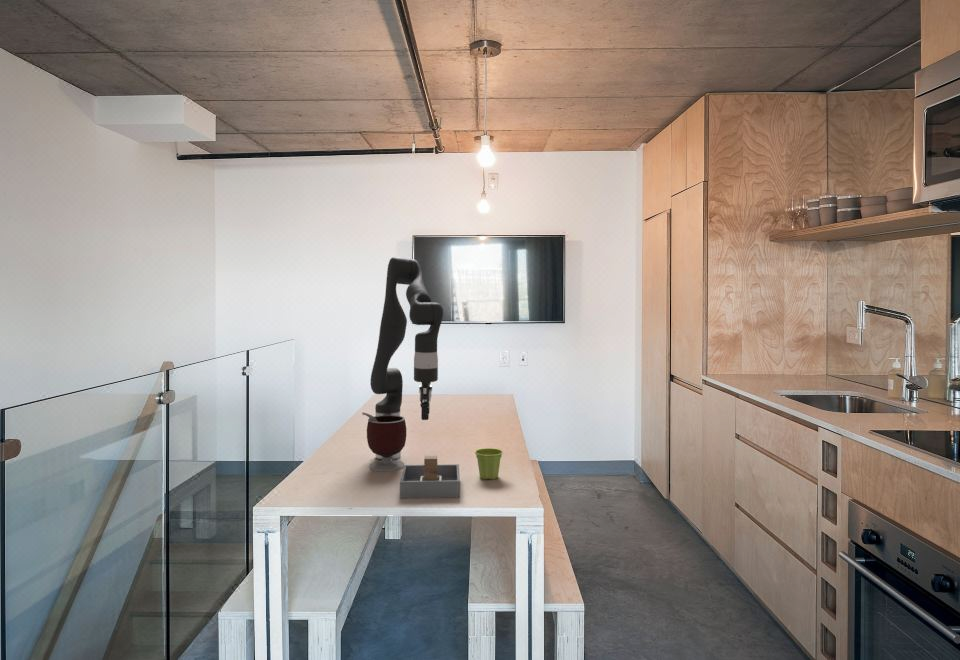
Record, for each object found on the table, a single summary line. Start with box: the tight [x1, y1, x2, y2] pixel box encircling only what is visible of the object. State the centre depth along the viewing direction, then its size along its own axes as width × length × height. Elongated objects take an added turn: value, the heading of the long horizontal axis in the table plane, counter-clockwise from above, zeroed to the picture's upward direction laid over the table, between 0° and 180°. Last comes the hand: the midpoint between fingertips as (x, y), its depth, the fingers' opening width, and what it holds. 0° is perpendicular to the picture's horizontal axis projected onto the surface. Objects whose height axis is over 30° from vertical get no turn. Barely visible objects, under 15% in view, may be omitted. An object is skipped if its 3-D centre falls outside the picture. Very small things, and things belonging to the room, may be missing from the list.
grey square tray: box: [399, 463, 461, 499], centre depth 195 cm, size 18×18×5 cm
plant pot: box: [474, 447, 504, 480], centre depth 207 cm, size 9×9×9 cm
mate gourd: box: [362, 412, 407, 472], centre depth 218 cm, size 16×14×20 cm
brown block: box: [423, 454, 438, 481], centre depth 195 cm, size 4×4×9 cm
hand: (425, 416), depth 196 cm, fingers open, 8 cm apart
